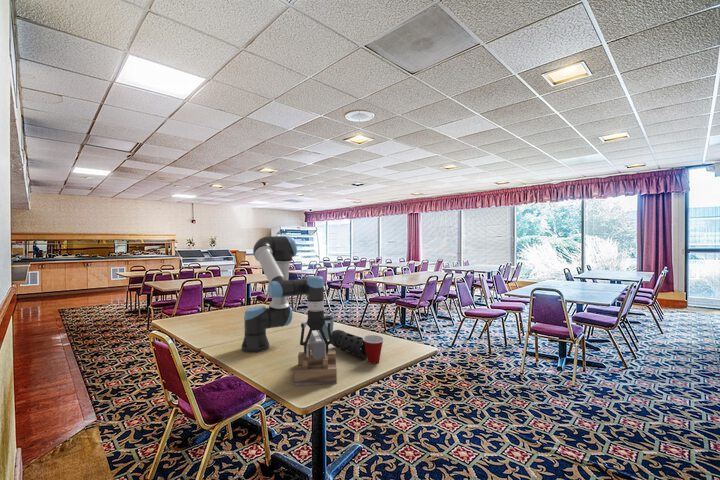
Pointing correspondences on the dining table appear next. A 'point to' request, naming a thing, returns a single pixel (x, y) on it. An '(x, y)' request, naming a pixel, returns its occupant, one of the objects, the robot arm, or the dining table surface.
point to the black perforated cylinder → (349, 343)
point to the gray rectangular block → (317, 345)
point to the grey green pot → (326, 326)
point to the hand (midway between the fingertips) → (316, 359)
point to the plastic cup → (373, 347)
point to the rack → (315, 369)
